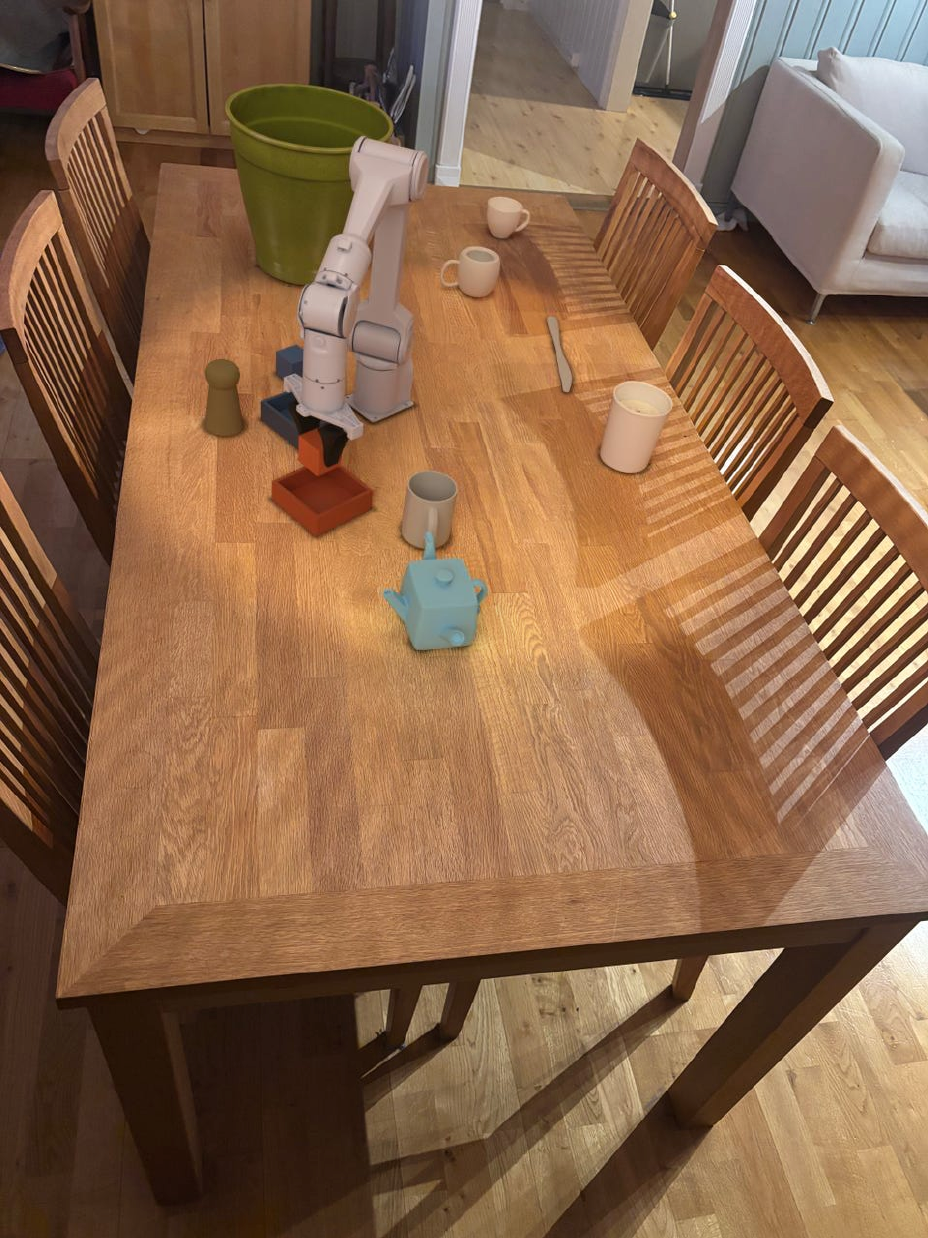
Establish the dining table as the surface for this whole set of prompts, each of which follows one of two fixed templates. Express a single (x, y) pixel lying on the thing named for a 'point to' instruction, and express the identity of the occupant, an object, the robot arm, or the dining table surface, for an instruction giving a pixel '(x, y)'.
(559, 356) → the butter knife
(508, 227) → the cup
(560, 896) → the dining table surface
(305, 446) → the terracotta block
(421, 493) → the cup
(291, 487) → the terracotta bin
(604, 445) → the candle holder
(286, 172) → the plant pot
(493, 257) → the mug
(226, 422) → the pepper mill
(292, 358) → the blue block
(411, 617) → the teapot
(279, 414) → the blue bin
